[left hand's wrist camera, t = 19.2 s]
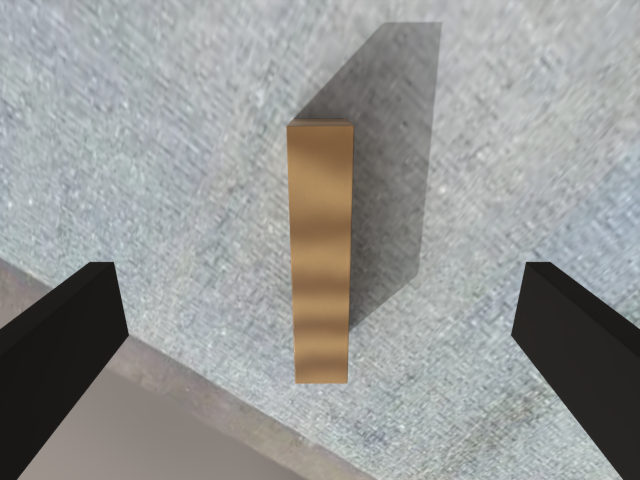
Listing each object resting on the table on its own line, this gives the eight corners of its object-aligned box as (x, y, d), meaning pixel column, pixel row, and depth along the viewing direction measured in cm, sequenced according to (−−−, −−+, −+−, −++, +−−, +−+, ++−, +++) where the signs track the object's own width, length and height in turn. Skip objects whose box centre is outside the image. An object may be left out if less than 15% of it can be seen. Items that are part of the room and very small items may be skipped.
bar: (292, 118, 38) (286, 125, 31) (347, 118, 38) (354, 125, 31) (298, 337, 47) (295, 383, 40) (343, 337, 47) (347, 383, 40)
